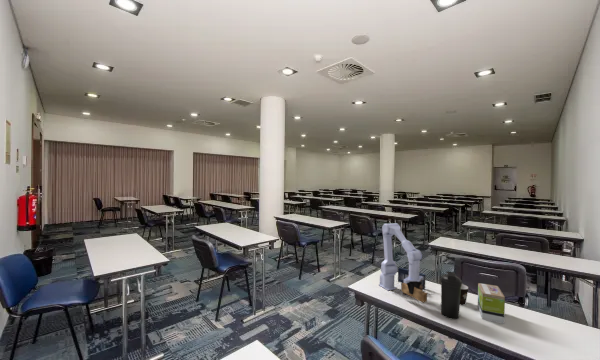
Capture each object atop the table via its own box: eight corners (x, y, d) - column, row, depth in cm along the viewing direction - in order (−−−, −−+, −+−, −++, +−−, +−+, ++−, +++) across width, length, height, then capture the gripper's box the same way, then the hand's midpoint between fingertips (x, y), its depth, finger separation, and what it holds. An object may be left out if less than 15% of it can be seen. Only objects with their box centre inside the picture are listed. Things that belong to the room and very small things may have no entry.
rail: (401, 291, 162) (401, 283, 162) (404, 290, 163) (404, 282, 163) (423, 302, 147) (423, 294, 147) (426, 301, 149) (427, 293, 149)
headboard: (403, 293, 169) (403, 283, 168) (419, 289, 175) (419, 279, 175) (409, 297, 164) (409, 286, 164) (425, 292, 171) (426, 282, 170)
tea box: (476, 306, 154) (477, 282, 153) (497, 311, 149) (498, 285, 149) (481, 319, 140) (482, 292, 140) (504, 324, 136) (505, 296, 135)
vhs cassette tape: (397, 281, 188) (398, 267, 188) (399, 280, 190) (399, 266, 190) (423, 290, 175) (424, 275, 174) (425, 288, 177) (425, 274, 176)
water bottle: (459, 312, 146) (460, 272, 146) (461, 322, 137) (463, 279, 137) (438, 308, 151) (440, 269, 150) (440, 317, 141) (441, 275, 141)
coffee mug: (463, 299, 163) (463, 283, 162) (470, 306, 154) (471, 289, 154) (443, 298, 164) (444, 282, 163) (450, 305, 155) (450, 288, 155)
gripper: (410, 274, 148) (409, 298, 149) (428, 271, 154) (427, 293, 155) (401, 270, 155) (400, 293, 155) (418, 267, 161) (417, 288, 161)
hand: (413, 293), depth 155 cm, fingers closed on rail, 3 cm apart
